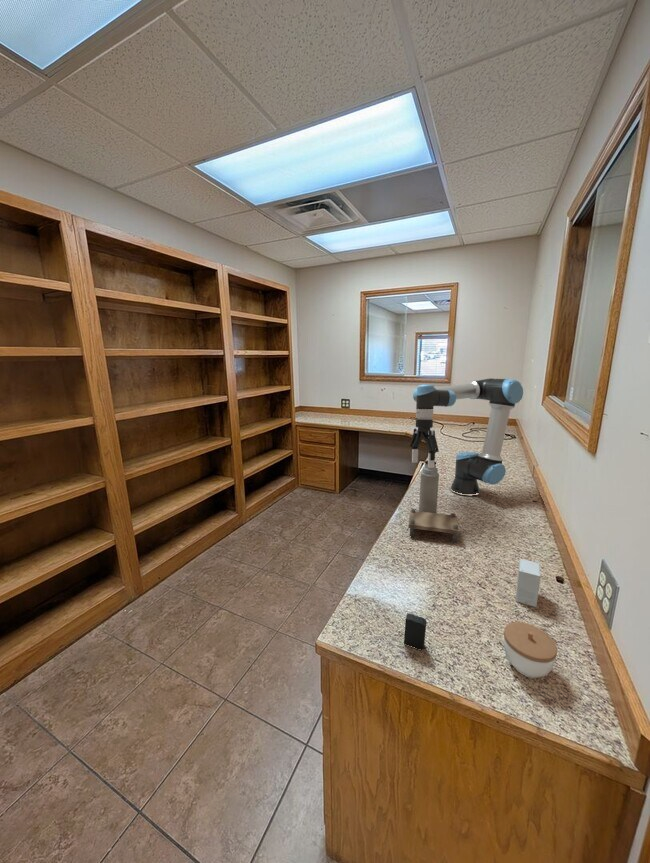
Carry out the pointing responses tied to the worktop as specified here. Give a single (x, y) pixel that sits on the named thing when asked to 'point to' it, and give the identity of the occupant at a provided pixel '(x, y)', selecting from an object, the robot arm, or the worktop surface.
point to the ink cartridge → (415, 631)
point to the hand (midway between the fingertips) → (422, 465)
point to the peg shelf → (434, 523)
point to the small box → (528, 582)
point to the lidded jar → (529, 649)
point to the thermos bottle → (429, 489)
